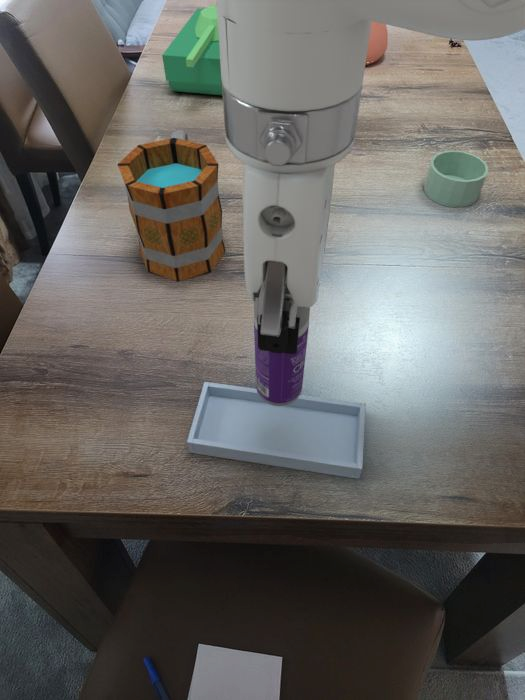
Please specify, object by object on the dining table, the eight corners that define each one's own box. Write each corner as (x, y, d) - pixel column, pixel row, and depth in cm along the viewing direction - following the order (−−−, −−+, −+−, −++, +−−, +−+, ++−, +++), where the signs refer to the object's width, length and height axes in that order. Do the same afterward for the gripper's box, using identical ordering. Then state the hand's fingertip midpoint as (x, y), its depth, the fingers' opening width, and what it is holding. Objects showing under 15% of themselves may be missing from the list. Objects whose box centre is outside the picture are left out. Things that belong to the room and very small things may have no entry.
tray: (362, 415, 59) (365, 403, 57) (358, 479, 54) (362, 469, 52) (206, 393, 61) (204, 381, 59) (189, 452, 56) (186, 442, 54)
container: (299, 409, 48) (310, 303, 36) (252, 402, 48) (247, 296, 37) (304, 370, 51) (316, 261, 39) (259, 365, 51) (257, 255, 39)
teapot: (387, 79, 113) (398, 17, 104) (319, 76, 114) (324, 15, 105) (383, 41, 127) (393, -17, 117) (322, 38, 128) (327, -19, 118)
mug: (223, 281, 73) (215, 194, 61) (132, 281, 73) (107, 194, 61) (229, 201, 85) (223, 116, 73) (152, 201, 85) (133, 116, 73)
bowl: (475, 178, 89) (485, 152, 85) (480, 209, 83) (491, 183, 79) (422, 173, 90) (429, 148, 86) (424, 204, 84) (432, 178, 80)
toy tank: (146, 50, 95) (195, -10, 116) (157, 114, 104) (201, 47, 125) (235, 56, 92) (269, -7, 113) (238, 121, 102) (269, 52, 123)
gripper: (348, 211, 22) (316, 416, 36) (364, 54, 32) (333, 263, 47) (186, 195, 23) (217, 402, 37) (252, 47, 33) (256, 254, 48)
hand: (282, 323), depth 42 cm, fingers closed on container, 4 cm apart
